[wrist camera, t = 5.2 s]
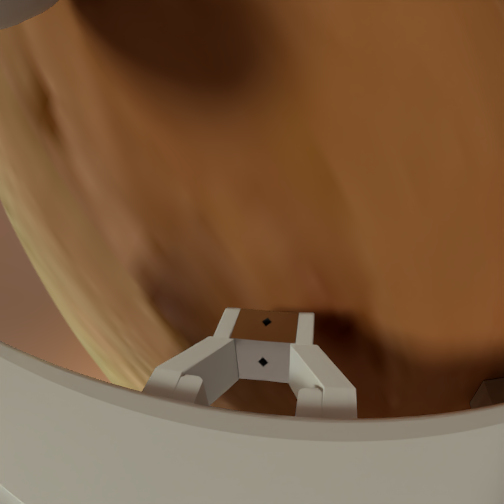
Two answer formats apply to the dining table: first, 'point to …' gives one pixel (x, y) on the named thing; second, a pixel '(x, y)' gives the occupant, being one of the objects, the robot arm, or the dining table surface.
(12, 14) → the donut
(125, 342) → the dining table surface
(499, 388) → the bridge
